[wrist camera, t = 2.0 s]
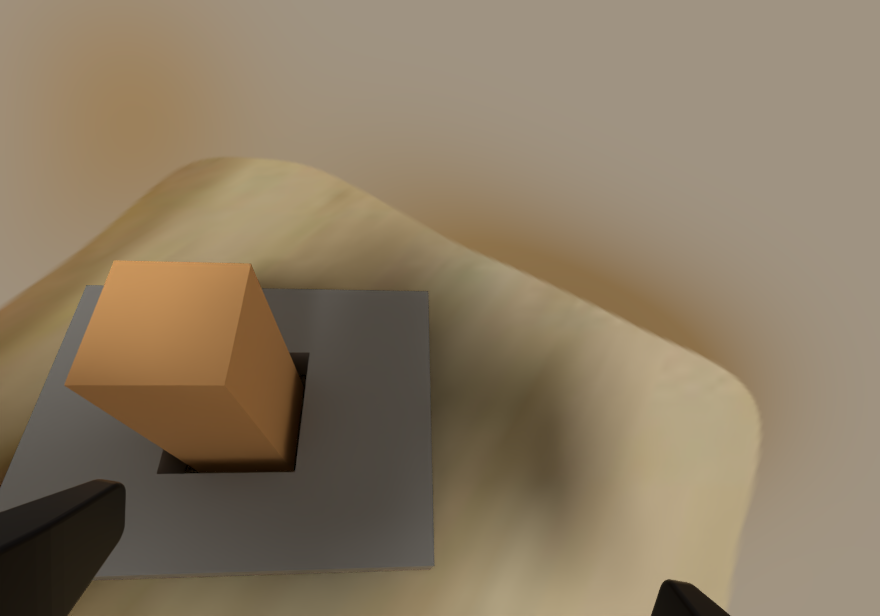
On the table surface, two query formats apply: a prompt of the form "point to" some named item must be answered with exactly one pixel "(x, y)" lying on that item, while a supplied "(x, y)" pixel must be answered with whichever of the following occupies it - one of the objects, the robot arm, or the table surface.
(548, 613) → the table surface
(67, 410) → the jig plate
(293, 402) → the orange bar
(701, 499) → the table surface
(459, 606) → the table surface
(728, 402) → the table surface
